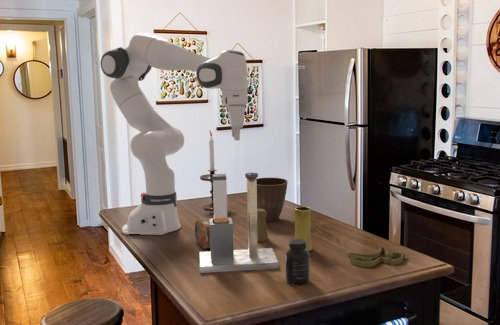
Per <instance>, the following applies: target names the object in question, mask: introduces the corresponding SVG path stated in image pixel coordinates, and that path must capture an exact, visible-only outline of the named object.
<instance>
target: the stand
mask: <svg viewBox="0 0 500 325" xmlns="http://www.w3.org/2000/svg"><path fill="white" fill-rule="evenodd" d="M244 176H245V178H246V193H247V194H246V197H247V200H246V202H247V203H246V204H247V207H246V208H247V241H248V242H247V244H248V246H247V247H248V248H247V249H234V223H233V219H232V217H228V223H218V224H214V218H209V219H208V220H209V221H208V223H209V226H210V248H209V249H210V250H209V251H208V250H207V251H199V271H200V272H199V273H201V274H204V273H205V274H206V273H209V274H210V273H221V272H240V271H241V272H242V271H259V270H262V271H263V270H279V261H278V259H277V256H276V253H275V252H274V249H273V248H272V247H266V248H265V247H264V248H259V247H258V246H259V241H258V231H257V179H258V177H259V173H258V172H246V173H244Z"/></svg>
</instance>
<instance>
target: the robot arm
mask: <svg viewBox="0 0 500 325" xmlns="http://www.w3.org/2000/svg"><path fill="white" fill-rule="evenodd" d="M100 68H101V70H102V72H103V74H104V75H105V76H106V77H109V78H111V79H113V80H112V81H111V83H110V85H109V89H110V93H111V95H112V98H113V100H114V102H115V104H116V106H117V107H118V108H119V110H120V112H121V114H122V115H123V117H124V119H125V120H126V121H127V122H126V123H128V125H129V127H132V128H133V129H135V130H137V131H138V132H139V133H137V134H135V135H134V136H133V137H132V139H131V140H130V151H131V153H132V155H133V156H134V157H135V158H136V159H137V160H139V163H140V164H141V167H142V169H143V172H144V178H145V192H144V191H143V192H141V193H140V197H141V198H140V201H141V202H140V204H139V205H138V206H136V207H135V208H134V209H132V211H131V212H130V213H129V215H128V219H127V223H125V224H124V225H123V226H122V227H121V228H122V229H121V233H122V234H124V235H129V234H140V235H141V236H142V235H144V236H145V235H147V236H149V235H150V236H151V235H152V236H153V235H154V236H155V235H157V236H159V235H160V236H162V235H166V234H168V233H172V232H175V231H177V230H179V229H181V226H182V225H181V223H180V222H181V221H180V220H179V216H178V215H179V214H178V209H177V205H178V195H177V192H176V185H175V184H176V181H175V180H176V179H175V172H174V170H173V169H172V168H170V167H169V165H168V162H167V158H166V157H167V156H172V155H174V154H176V153H178V152H179V151H181V149H182V148H183V147H184V144H185V136H184V133H182V131H181V130H180V129H178V128H177V127H174V126H173V125H171V124H170V123H168V122H167V121H166V120H165V118H163V117H162V116H161V115H160V114H159V113H158V112H157V111H156V110H155V108H154V107H153V106H152V104H151V103H150V101H149V100H148V97H147V96H146V95H145V94H144V92H143V90H142V89H141V87H140V85H139V82H141V81H144V80H145V78H146V75H148V73H150V71H151V70H152V68H155V69H158V70H163V71H191V72H195V73H196V74H195V76H196V80H197V82H198V84H199V85H200V86H201V87H202V88H204V89H211V90H213V89H214V90H215V89H221V103H222V104H223V105H225V109H227V117H228V118H227V119H228V123H229V125H230V126H231V128H230V129H231V136H232V137H233V139H234V141H240V140H241V139H240V138H241V128H243V127H244V122H245V112H246V111H245V109H246V108H245V105H247V104H248V102H249V100H248V96H249V95H248V91H249V90H248V85H247V78H248V64H247V59H246V55H245V54H244V53H243V52H242V51H238V50H231V49H226V50H222V52H221V53H220V54H218V55H217V56H215V57H213V58H210V57H206V56H204V55H201V54H198V53H196V52H193V51H190V50H188V49H186V48H185V47H182V46H180V45H178V44H176V43H174V42H171V41H169V40H167V39H165V38H163V37H160V36H157V35H153V34H149V33H143V32H141V33H140V32H139V33H136V34H135V35H133V36H132V37H131V39H130V41H129V44H128V46H127V47H126V48H125V47H124V48H123V47H122V46H121V47H117V48H114V49H110V50H108V51H106V52H104V54H102V56H101V59H100ZM140 235H139V236H140Z"/></svg>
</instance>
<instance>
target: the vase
mask: <svg viewBox="0 0 500 325" xmlns="http://www.w3.org/2000/svg"><path fill="white" fill-rule="evenodd" d="M311 214H312V213H311V207H309V206H296V207H295V208H294V238H293V240H294V239H301V240H304V241H306V250H307V251H308V252H310V251H312V250H313V247H312V233H311V232H312V231H311V223H312V222H311V221H312V220H311V218H312V217H311V216H312V215H311Z"/></svg>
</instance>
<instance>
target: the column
mask: <svg viewBox="0 0 500 325" xmlns="http://www.w3.org/2000/svg"><path fill="white" fill-rule="evenodd" d="M227 188H228V187H227V175H226V173H218V174H217V173H215V174H213V199H214V211H213V219H214V224H218V223H228V218H229V217H228V191H227Z"/></svg>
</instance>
